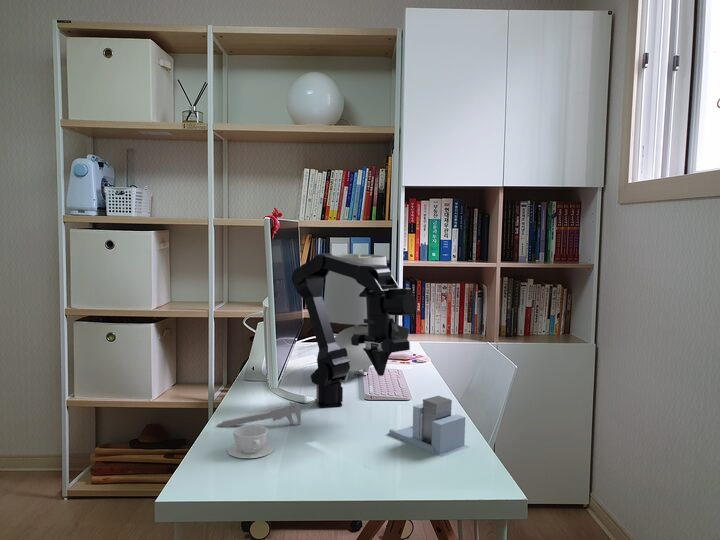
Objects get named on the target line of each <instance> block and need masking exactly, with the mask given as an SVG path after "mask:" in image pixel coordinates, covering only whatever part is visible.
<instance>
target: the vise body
mask: <svg viewBox="0 0 720 540" xmlns="http://www.w3.org/2000/svg"><path fill="white" fill-rule="evenodd" d="M388 431H389V432H387V434H388V435H390V436H392V437H395V438H398V439H400V440H402V441H404V442H406V443H409V444H411V445H414V446H415V447H419V448H421V449H423V450H425V451H427V452H430V453H432V454H434V455H436V456H440V457H444V456H447V455H450V454H453V453H456V452H459V451H461V450H464V449H467V448H469V447H470V446H469V445H466V444H465V438H466V437H465V434H466V416H463V415H460V414H458V413H457V414H451V416H449V417H446V418H442V419H439V420H436V421H432V445H430V444H427V443H425V442H422V441H420V440H417V439H415V438H413V437H412V436H413V425H412V426H408V427H405V428H400V429H398V430H395V429H394V428H391V429H389V430H388Z"/></svg>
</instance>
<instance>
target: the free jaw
mask: <svg viewBox="0 0 720 540" xmlns="http://www.w3.org/2000/svg"><path fill="white" fill-rule="evenodd" d="M412 408H413V409H412V410H413V411H412V426H413V436H412V437H413V438H415V439H417V440H420V441H422V420H423V403H420V404H416V405H413V407H412Z"/></svg>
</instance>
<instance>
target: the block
mask: <svg viewBox="0 0 720 540" xmlns="http://www.w3.org/2000/svg"><path fill="white" fill-rule="evenodd" d="M452 400H453V399H450V398H447V397H443V396H441V395H436V396H435V395H434V396H432V397H428V398H424V399H423V400H422V404H423V420H422V442H425V443H427V444H430V445H432V421H436V420H439V419H442V418H446V417H449V416H452V405H453V404H452V402H453V401H452Z"/></svg>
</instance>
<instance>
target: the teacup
mask: <svg viewBox="0 0 720 540" xmlns="http://www.w3.org/2000/svg"><path fill="white" fill-rule="evenodd" d="M268 433H269V429H268V428H267V427H266V426H263V425H260V424H246V425H241V426H238V427H237V428H235V429H233V439H234V444H232V445H230V446H229V447H228V449H227V453H228V454H229V455H230V456H232V457H235V458H238V459H239V458H240V459H255V458H256V459H257V458H262V457H265V456H268V455H270V454H271V453H272V452H273V451H274V449H275V447H274V445H273V444H272V443H270V442H267V439H268V435H269V434H268Z"/></svg>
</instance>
